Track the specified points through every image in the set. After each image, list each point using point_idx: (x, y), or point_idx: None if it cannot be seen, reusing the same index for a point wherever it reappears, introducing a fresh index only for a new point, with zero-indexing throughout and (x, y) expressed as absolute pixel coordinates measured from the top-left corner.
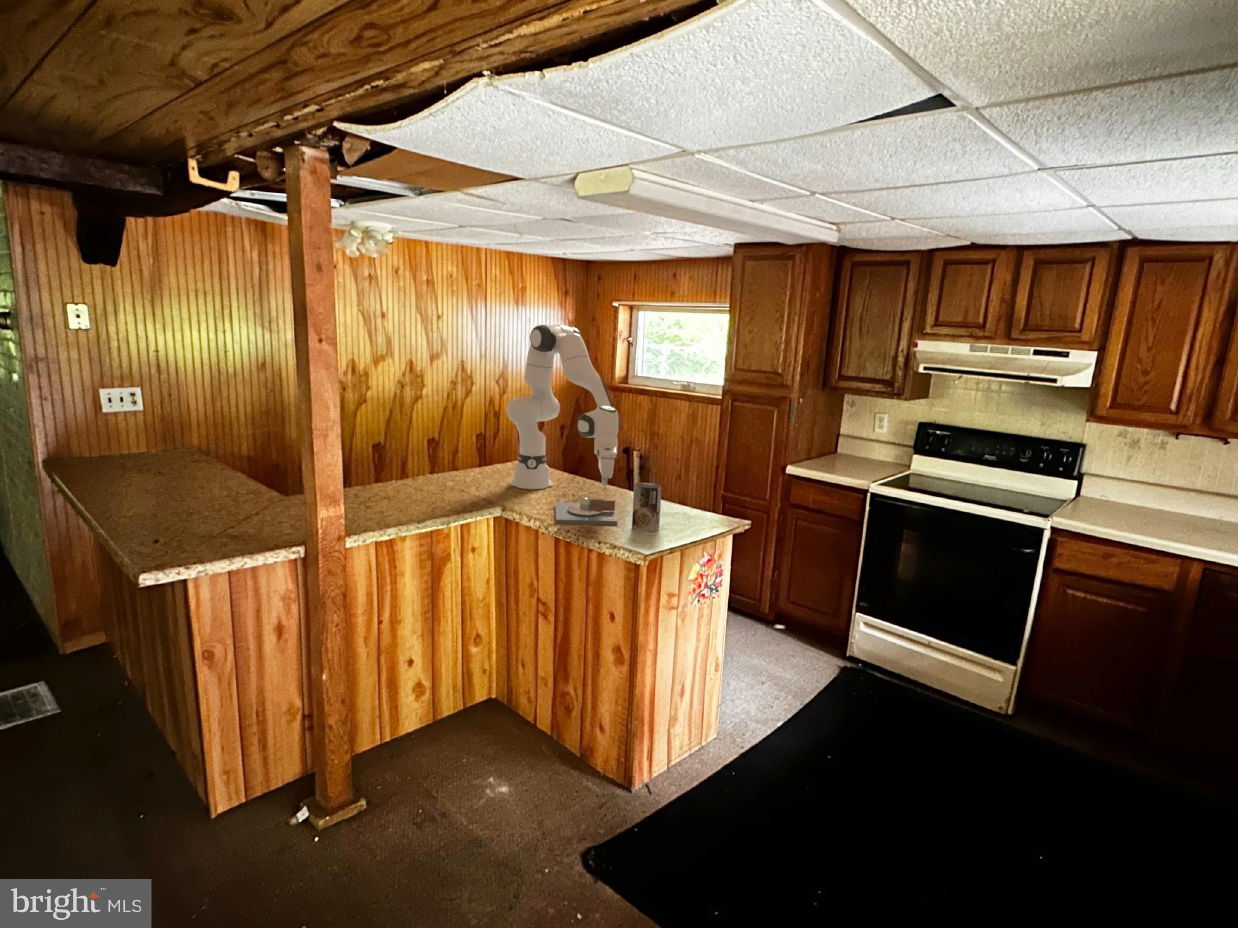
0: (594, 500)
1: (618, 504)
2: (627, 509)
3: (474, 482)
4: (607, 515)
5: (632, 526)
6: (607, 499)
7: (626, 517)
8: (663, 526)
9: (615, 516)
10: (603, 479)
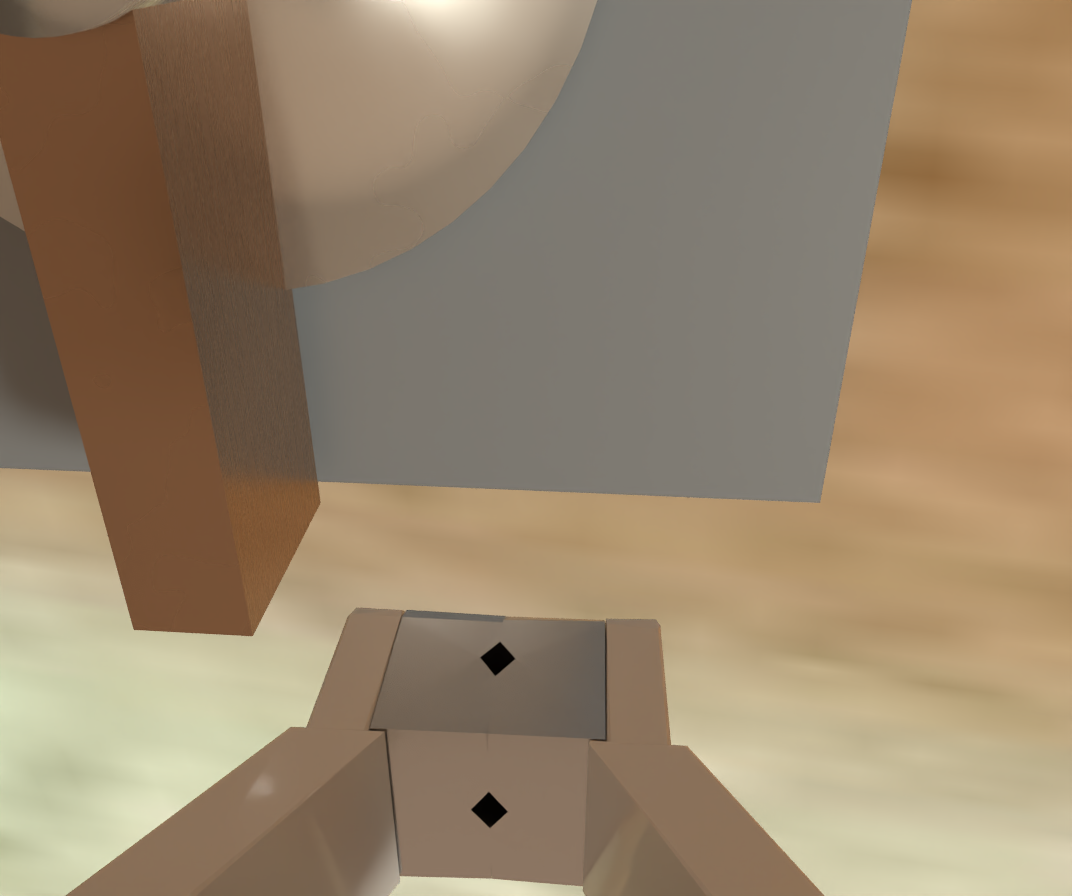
0: (7, 141)
1: (1006, 600)
2: (698, 676)
3: None
4: (41, 342)
5: None
6: (185, 490)
7: (270, 603)
8: (18, 891)
9: (28, 466)
10: (212, 821)
